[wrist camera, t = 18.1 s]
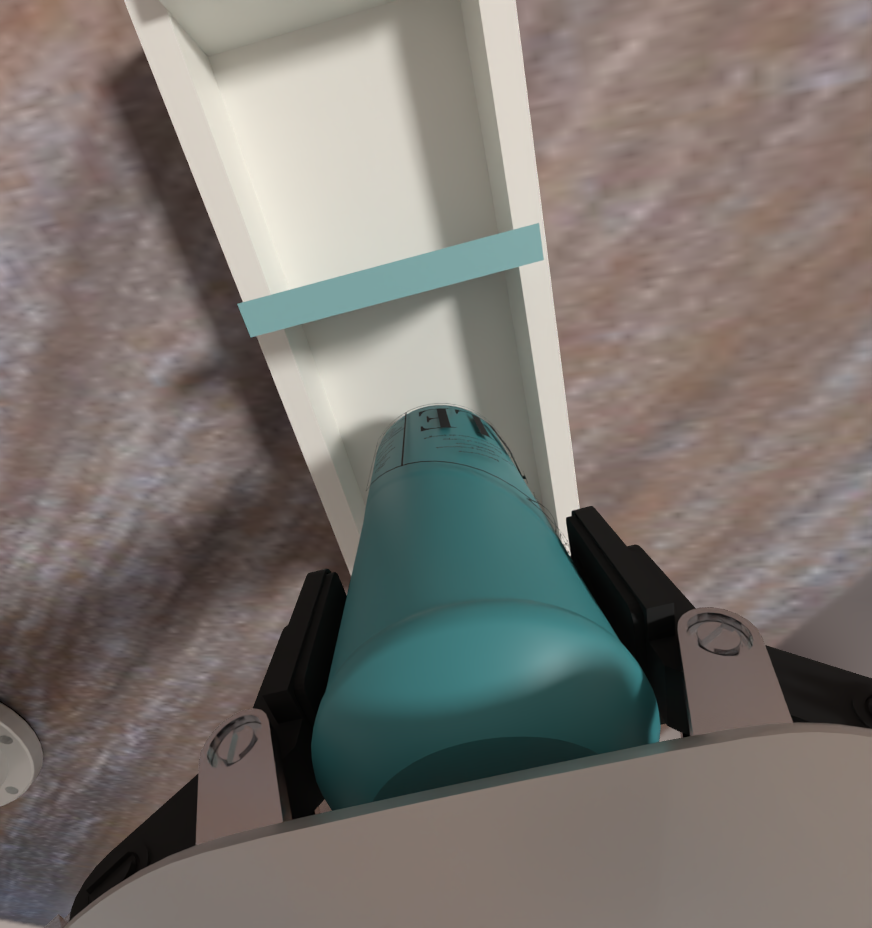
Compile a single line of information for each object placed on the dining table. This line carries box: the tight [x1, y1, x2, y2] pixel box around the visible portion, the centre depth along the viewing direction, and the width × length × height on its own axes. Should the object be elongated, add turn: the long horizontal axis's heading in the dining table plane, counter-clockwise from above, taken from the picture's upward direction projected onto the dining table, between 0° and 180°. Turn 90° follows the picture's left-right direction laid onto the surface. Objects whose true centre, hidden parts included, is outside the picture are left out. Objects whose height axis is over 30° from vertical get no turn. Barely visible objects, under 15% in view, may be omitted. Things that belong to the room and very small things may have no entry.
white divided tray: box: [124, 0, 580, 575], centre depth 19 cm, size 12×26×4 cm, turn 14°
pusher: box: [237, 223, 544, 337], centre depth 16 cm, size 9×1×8 cm, turn 104°
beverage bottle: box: [311, 403, 660, 811], centre depth 13 cm, size 6×7×20 cm
